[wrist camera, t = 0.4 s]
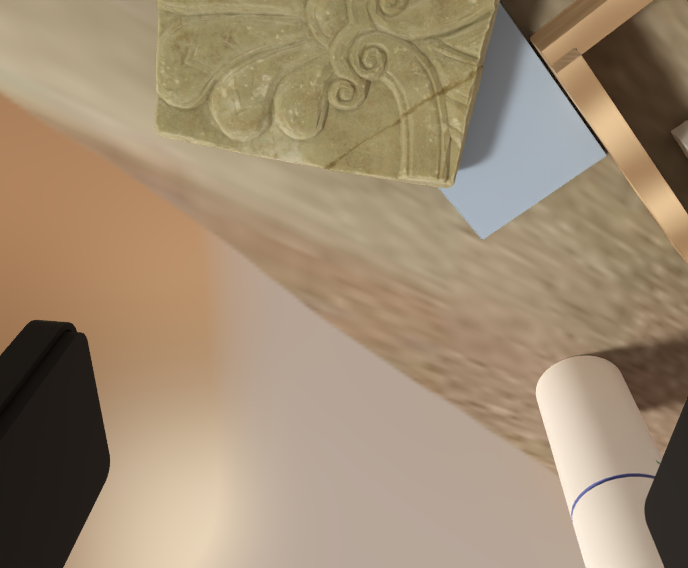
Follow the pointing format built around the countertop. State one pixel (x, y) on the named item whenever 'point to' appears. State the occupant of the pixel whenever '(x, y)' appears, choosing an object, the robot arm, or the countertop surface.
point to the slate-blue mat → (517, 136)
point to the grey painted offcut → (682, 136)
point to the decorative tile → (326, 81)
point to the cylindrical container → (601, 460)
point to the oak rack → (608, 103)
